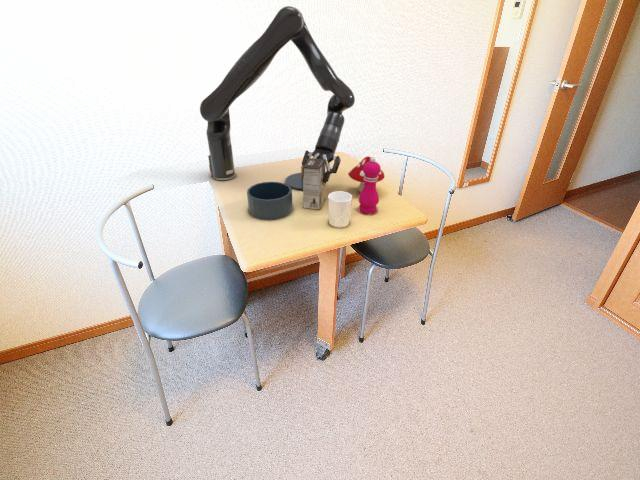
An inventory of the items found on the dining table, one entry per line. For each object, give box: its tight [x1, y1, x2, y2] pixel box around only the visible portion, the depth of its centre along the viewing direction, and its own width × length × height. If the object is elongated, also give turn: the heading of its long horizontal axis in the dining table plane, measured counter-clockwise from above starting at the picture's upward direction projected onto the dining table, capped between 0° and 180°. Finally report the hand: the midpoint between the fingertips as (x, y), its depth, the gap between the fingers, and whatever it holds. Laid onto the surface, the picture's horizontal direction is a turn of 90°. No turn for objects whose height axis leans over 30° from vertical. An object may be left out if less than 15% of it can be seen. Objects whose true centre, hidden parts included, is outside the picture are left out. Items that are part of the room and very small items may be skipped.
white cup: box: [327, 190, 353, 228], centre depth 119 cm, size 8×8×10 cm
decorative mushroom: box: [347, 156, 385, 193], centre depth 138 cm, size 14×14×15 cm
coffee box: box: [302, 157, 326, 210], centre depth 129 cm, size 9×6×16 cm
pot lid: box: [284, 164, 303, 190], centre depth 148 cm, size 17×17×7 cm
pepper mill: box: [358, 156, 382, 215], centre depth 124 cm, size 7×7×20 cm
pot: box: [246, 181, 293, 221], centre depth 127 cm, size 16×16×8 cm
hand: (314, 180), depth 129 cm, fingers closed on coffee box, 7 cm apart
